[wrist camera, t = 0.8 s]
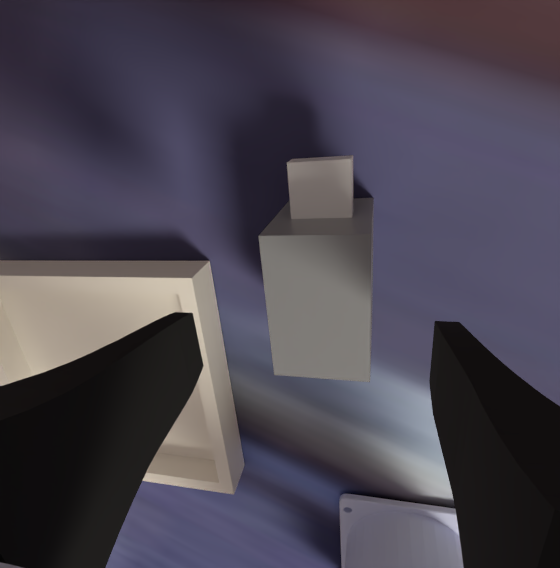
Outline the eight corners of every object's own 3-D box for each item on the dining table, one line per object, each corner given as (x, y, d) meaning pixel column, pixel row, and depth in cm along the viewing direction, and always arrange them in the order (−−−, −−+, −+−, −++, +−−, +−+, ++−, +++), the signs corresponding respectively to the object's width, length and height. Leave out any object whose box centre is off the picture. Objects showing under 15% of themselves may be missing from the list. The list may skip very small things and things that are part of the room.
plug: (371, 358, 20) (369, 433, 15) (301, 354, 21) (279, 424, 16) (374, 147, 16) (372, 166, 11) (285, 152, 16) (251, 173, 12)
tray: (244, 465, 25) (234, 494, 23) (60, 441, 28) (38, 465, 27) (209, 260, 19) (191, 278, 17) (-17, 260, 23) (-52, 275, 21)
